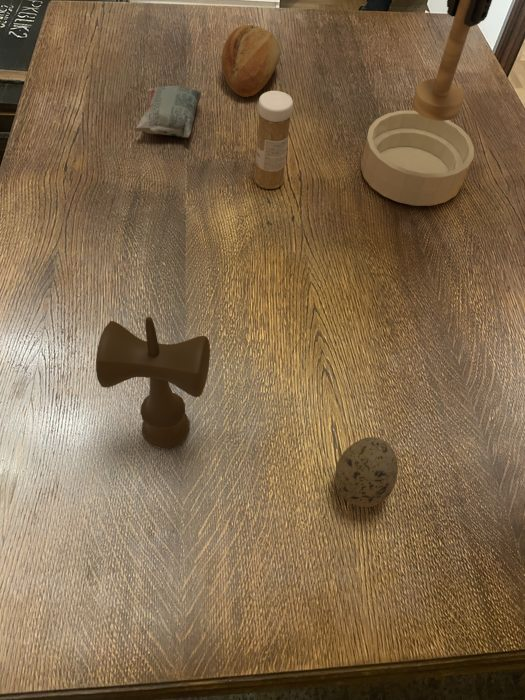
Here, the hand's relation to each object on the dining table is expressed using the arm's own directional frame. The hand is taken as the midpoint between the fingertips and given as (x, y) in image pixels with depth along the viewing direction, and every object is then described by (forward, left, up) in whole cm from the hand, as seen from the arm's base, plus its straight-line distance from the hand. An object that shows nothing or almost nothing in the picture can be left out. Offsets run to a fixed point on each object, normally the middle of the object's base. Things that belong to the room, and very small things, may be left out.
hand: (463, 18), depth 68 cm
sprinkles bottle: (+20, -5, -27) cm, 34 cm away
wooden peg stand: (0, 0, -11) cm, 11 cm away
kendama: (+35, +36, -27) cm, 57 cm away
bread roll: (+21, -32, -27) cm, 47 cm away
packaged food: (+35, -19, -27) cm, 48 cm away
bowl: (-2, -6, -27) cm, 27 cm away
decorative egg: (+15, +44, -27) cm, 54 cm away
